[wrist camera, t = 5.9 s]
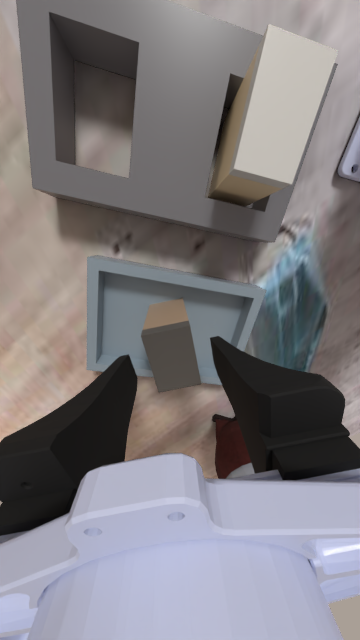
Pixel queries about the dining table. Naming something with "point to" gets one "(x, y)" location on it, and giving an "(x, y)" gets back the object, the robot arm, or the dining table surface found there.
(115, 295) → the parts tray
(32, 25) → the block
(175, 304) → the block
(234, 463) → the mate gourd
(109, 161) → the dining table surface
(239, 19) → the dining table surface
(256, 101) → the block
